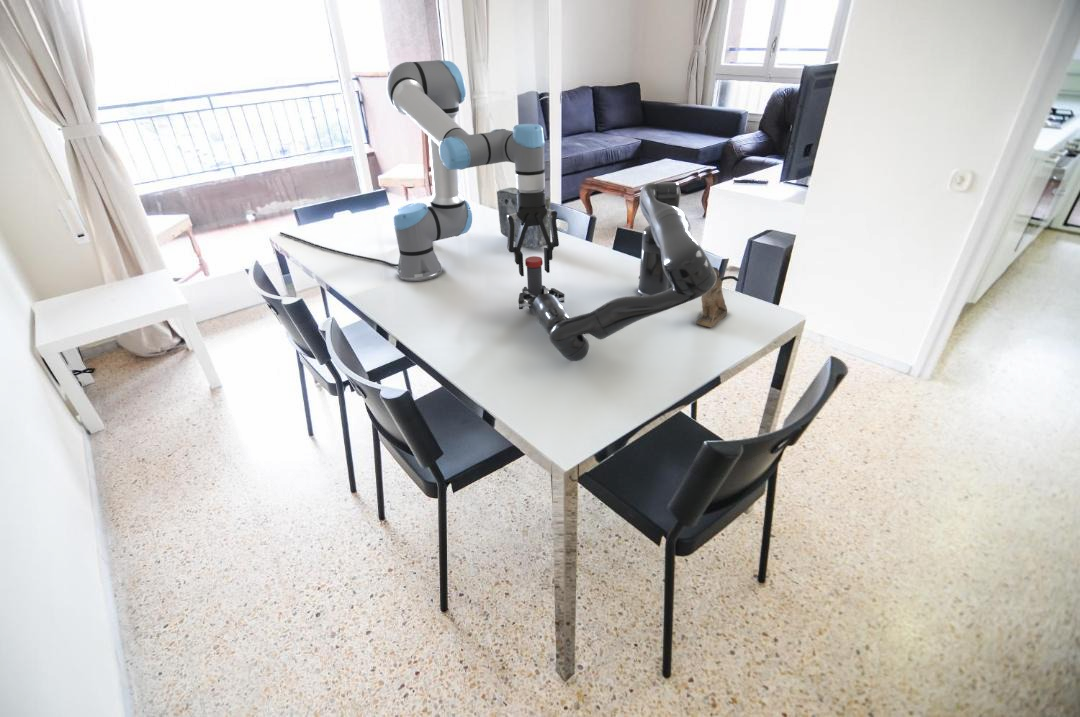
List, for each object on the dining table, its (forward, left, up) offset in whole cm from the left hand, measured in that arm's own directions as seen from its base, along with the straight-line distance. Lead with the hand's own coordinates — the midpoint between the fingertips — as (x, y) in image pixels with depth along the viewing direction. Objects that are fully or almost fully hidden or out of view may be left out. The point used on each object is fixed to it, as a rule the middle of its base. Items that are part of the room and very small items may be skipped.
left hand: (534, 272), depth 141 cm
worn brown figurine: (+49, +10, -12) cm, 52 cm away
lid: (0, 0, +4) cm, 4 cm away
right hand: (-2, +2, -6) cm, 7 cm away
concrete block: (-25, +55, -12) cm, 62 cm away
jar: (0, 0, -12) cm, 12 cm away
